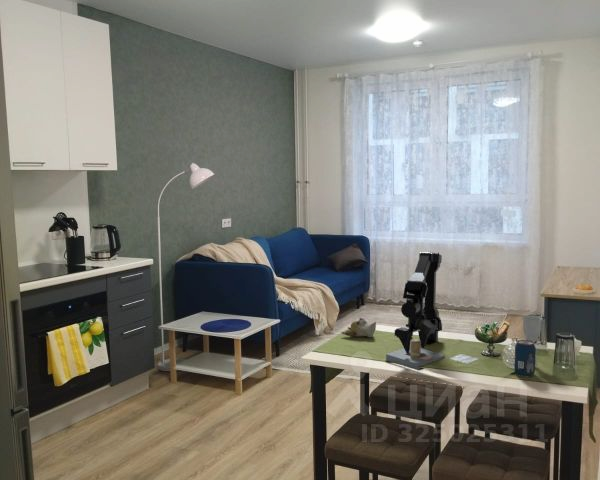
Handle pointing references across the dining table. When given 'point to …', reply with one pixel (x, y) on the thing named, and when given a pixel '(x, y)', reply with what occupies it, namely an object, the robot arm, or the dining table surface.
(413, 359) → the hole plate
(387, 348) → the dining table surface
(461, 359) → the plate
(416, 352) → the peg
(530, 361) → the soda can
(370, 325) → the ceramic sculpture
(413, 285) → the robot arm
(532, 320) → the chalice
